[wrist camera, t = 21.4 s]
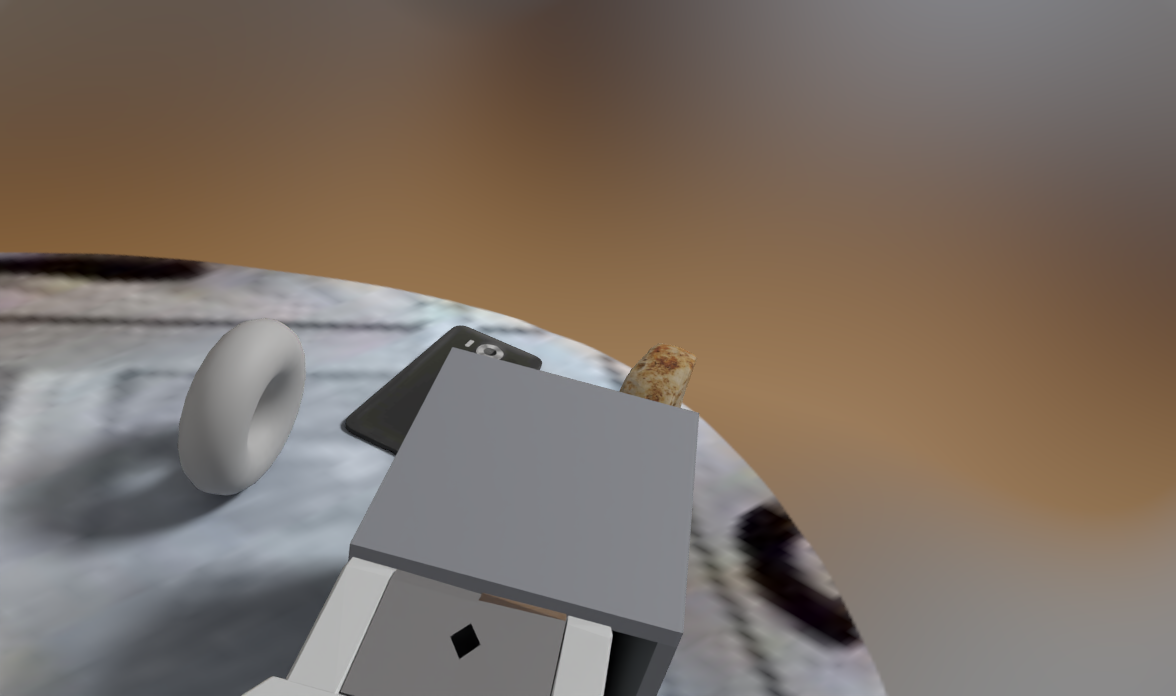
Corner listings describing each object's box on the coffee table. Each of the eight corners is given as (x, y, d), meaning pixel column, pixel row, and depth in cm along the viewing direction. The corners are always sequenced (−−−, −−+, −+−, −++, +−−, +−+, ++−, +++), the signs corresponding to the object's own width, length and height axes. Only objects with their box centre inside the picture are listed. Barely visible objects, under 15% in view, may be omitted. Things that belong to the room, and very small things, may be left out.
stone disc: (624, 429, 62) (660, 311, 57) (673, 451, 62) (715, 332, 56) (566, 519, 54) (602, 390, 49) (621, 545, 53) (665, 417, 48)
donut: (228, 542, 47) (226, 395, 42) (167, 523, 47) (157, 374, 42) (313, 430, 56) (320, 295, 50) (261, 414, 56) (263, 278, 50)
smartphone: (544, 368, 67) (546, 359, 67) (441, 481, 55) (443, 472, 55) (456, 330, 69) (458, 321, 68) (338, 432, 57) (339, 422, 56)
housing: (595, 838, 39) (682, 633, 31) (328, 765, 39) (350, 543, 31) (628, 606, 49) (698, 413, 42) (419, 550, 50) (452, 347, 42)
